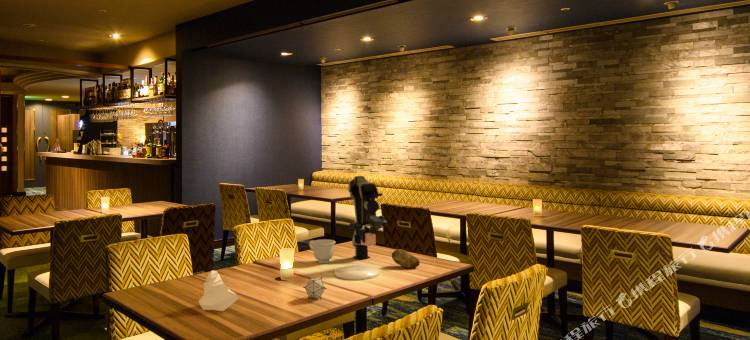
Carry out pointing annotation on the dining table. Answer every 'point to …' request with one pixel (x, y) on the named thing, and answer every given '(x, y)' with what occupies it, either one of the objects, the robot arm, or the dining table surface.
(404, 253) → the potato
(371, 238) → the block
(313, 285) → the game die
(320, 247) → the teacup
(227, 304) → the cream irregular lump
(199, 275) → the dining table surface
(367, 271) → the plate
